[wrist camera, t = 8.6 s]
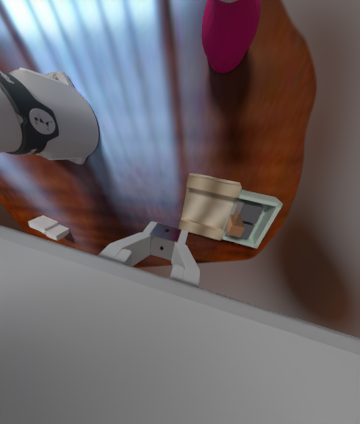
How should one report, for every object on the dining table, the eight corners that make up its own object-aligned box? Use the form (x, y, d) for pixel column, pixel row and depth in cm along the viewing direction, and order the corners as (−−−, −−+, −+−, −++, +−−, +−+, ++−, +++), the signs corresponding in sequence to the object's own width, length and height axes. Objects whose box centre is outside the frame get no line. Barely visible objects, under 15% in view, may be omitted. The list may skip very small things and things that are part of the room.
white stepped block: (38, 215, 54) (20, 223, 49) (49, 203, 49) (30, 210, 44) (66, 243, 58) (52, 252, 53) (79, 234, 53) (65, 243, 48)
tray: (221, 230, 37) (222, 239, 33) (237, 188, 31) (240, 194, 27) (252, 238, 36) (256, 248, 32) (275, 197, 30) (282, 204, 26)
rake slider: (221, 227, 35) (223, 245, 29) (233, 196, 30) (238, 210, 24) (231, 230, 34) (234, 249, 28) (244, 199, 30) (251, 213, 24)
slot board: (180, 223, 39) (178, 229, 36) (190, 172, 32) (188, 174, 29) (220, 234, 37) (220, 241, 35) (239, 182, 30) (242, 186, 28)
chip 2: (229, 228, 35) (230, 235, 32) (234, 215, 33) (236, 221, 30) (245, 232, 34) (247, 239, 32) (251, 219, 32) (254, 226, 30)
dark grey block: (235, 213, 33) (237, 219, 30) (241, 198, 31) (244, 203, 28) (252, 217, 32) (255, 223, 29) (259, 202, 30) (264, 208, 27)
